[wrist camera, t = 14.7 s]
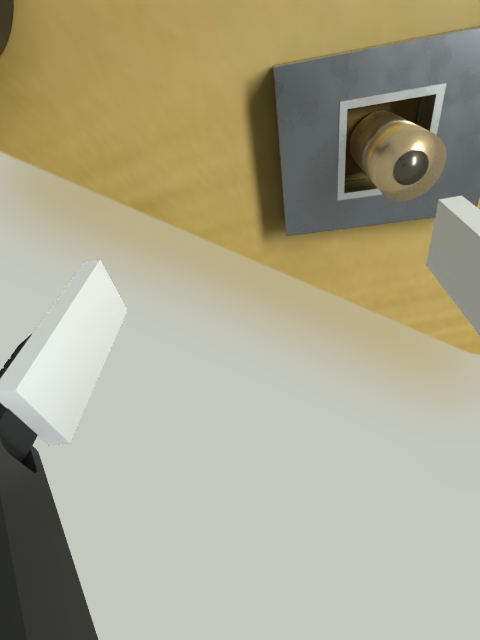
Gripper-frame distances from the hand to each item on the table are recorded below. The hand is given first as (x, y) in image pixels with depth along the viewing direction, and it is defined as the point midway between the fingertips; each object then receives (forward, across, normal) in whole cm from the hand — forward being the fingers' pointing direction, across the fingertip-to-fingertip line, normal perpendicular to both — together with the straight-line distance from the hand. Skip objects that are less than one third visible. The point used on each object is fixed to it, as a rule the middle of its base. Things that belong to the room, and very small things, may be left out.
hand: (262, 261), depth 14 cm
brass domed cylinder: (+23, +11, -3) cm, 26 cm away
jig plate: (+23, +11, -3) cm, 26 cm away
